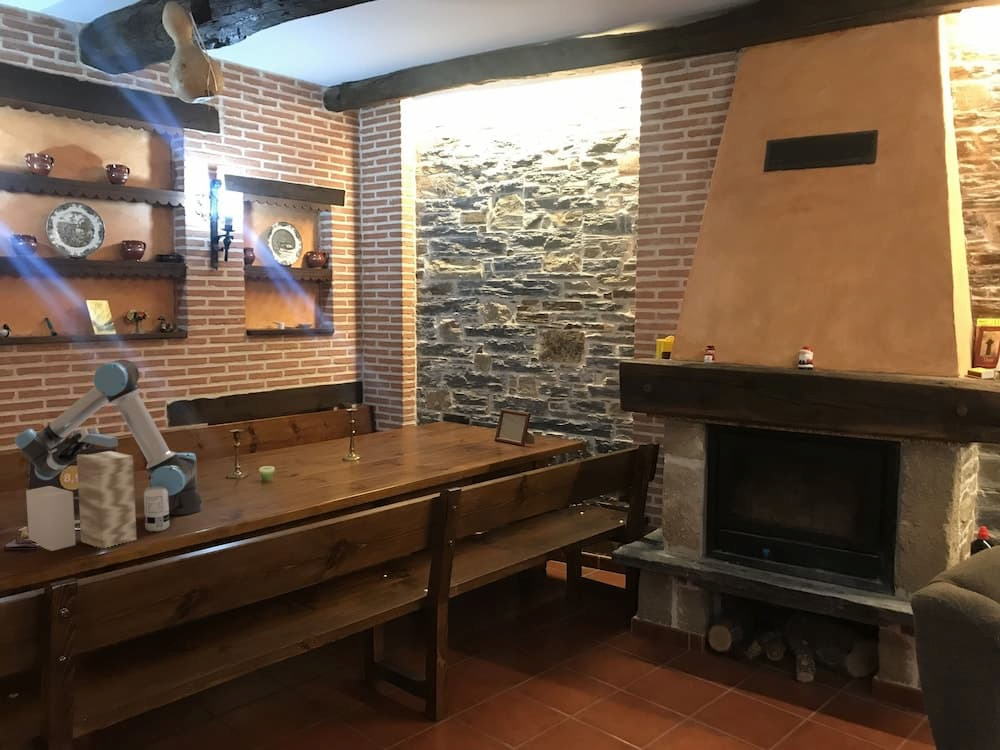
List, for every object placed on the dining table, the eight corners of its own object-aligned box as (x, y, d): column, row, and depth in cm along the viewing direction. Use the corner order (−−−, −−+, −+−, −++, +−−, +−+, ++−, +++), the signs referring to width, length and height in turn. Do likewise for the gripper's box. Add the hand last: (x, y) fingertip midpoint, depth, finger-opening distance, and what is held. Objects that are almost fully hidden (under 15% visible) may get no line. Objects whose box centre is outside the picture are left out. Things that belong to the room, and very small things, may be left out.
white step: (52, 537, 286) (49, 485, 284) (75, 544, 277) (72, 492, 275) (29, 542, 279) (26, 490, 277) (51, 550, 271) (49, 496, 269)
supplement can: (140, 529, 295) (138, 489, 294) (160, 524, 302) (159, 484, 300) (153, 533, 291) (152, 492, 289) (174, 527, 298) (172, 488, 296)
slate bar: (81, 438, 289) (80, 430, 289) (117, 445, 276) (117, 437, 276) (72, 439, 287) (72, 431, 286) (109, 447, 274) (109, 438, 274)
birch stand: (113, 532, 291) (110, 450, 288) (136, 539, 283) (132, 455, 280) (81, 541, 281) (76, 456, 278) (103, 548, 273) (99, 461, 270)
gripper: (87, 461, 301) (117, 436, 288) (42, 469, 287) (72, 443, 275) (80, 443, 302) (110, 417, 289) (36, 450, 289) (65, 423, 276)
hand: (91, 430), depth 282 cm, fingers closed on slate bar, 3 cm apart
